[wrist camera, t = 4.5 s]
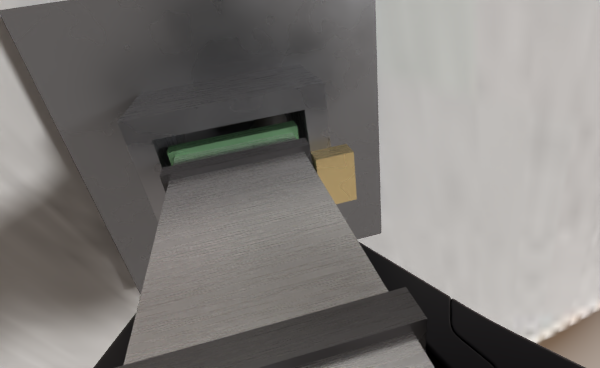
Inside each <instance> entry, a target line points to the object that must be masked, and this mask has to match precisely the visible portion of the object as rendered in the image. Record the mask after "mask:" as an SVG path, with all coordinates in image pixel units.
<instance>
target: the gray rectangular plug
mask: <svg viewBox="0 0 600 368" xmlns="http://www.w3.org/2000/svg"><path fill="white" fill-rule="evenodd" d="M167 154H168V157H169V160H170V163H171V166H168V167H163V168H162V170H161V173H160V176H159V177H160V179H161V182H162V184H163V187H164V190H165V192H166V195H165V199H164V203H163V207H162V211H161V215H160V219H159V223H158V227H157V231H156V235H155V239H154V244H153V248H152V252H151V256H150V260H149V264H148V268H147V272H146V276H145V280H144V284H143V288H142V292H141V296H140V300H139V304H138V308H137V312H136V316H135V320H134V324H133V329H132V333H131V337H130V341H129V345H128V349H127V353H126V357H125V361H124V365H122V366H119V367H115V368H434V366H433V364H432V363H431V361H430V359H429V358H428V356H427V354H426V353H425V347H426V331H427V317H426V316H425V314H424V313H423V311H422V310H421V308H420V307H419V305H418V304H417V302H416V301H415V300H414V298H413V297H412V295H411V294H410V292H409V291H408V289H407V288H406V287H404V288H400V289H396V290H393V291H389V292H388V290H387V288H386V287H385V285H384V283H383V282H382V280H381V278H380V277H379V275H378V273H377V272H376V270H375V268H374V267H373V265H372V263H371V262H370V260H369V258H368V257H367V255H366V254H365V252H364V250H363V249H362V247H361V245H360V244H359V242H358V240H357V239H356V237H355V235H354V234H353V232H352V230H351V229H350V227H349V225H348V224H347V222H346V220H345V219H344V217H343V215H342V214H341V212H340V210H339V209H338V207H337V206H336V204H335V202H334V201H333V199H332V197H331V196H330V194H329V192H328V191H327V189H326V187H325V186H324V184H323V182H322V181H321V179H320V177H319V176H318V174H317V172H316V171H315V169H314V167H313V166H312V158H311V151H310V144H309V143H308V141H307V140H306V138H301V139H299V135H298V129H297V125H296V123H295V122H294V121H289V122H284V123H279V124H274V125H270V126H265V127H260V128H255V129H250V130H245V131H240V132H235V133H230V134H225V135H220V136H216V137H211V138H206V139H201V140H196V141H191V142H186V143H181V144H176V145H171V146H169V147H168V150H167Z"/></svg>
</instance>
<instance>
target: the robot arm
mask: <svg viewBox="0 0 600 368" xmlns="http://www.w3.org/2000/svg"><path fill="white" fill-rule="evenodd" d="M359 244H360V245H361V247H362V249H363V250H364V252H365V254H366V255H367V257H368V258H369V260H370V262H371V263H372V265H373V267H374V268H375V270H376V272H377V273H378V275H379V277H380V278H381V280H382V282H383V283H384V285H385V287H386V288H387V290H388V292H389V291H393V290H396V289H400V288H404V287H406V288H407V289H408V291H409V292H410V294H411V295H412V297H413V298H414V300H415V301H416V302H417V304H418V305H419V307H420V308H421V310H422V311H423V313H424V314H425V316H426V317H427V331H426V347H425V353H426V354H427V356H428V358H429V359H430V361H431V363H432V364H433V366H434V368H585V367H583V366H581V365H579V364H577V363H574V362H573V361H571V360H569V359H567V358H565V357H563V356H561V355H559V354H557V353H555V352H552V351H550V350H549V349H546V348H544V347H542V346H540V345H538V344H536V343H534V342H532V341H530V340H528V339H526V338H524V337H522V336H520V335H518V334H516V333H514V332H512V331H510V330H508V329H506V328H504V327H503V326H501V325H499V324H497V323H495V322H493V321H491V320H489V319H487V318H486V317H484V316H482V315H480V314H479V313H477V312H475V311H473V310H472V309H470V308H468V307H466V306H465V305H463V304H461V303H460V302H458V301H456V300H455V299H451V298H450V297H449V296H448V295H446V294H445V293H443V292H441V291H440V290H438V289H436V288H435V287H433V286H431V285H430V284H428V283H426V282H425V281H423V280H421V279H420V278H418V277H416V276H415V275H413V274H411V273H410V272H408V271H406V270H405V269H403V268H401V267H400V266H398V265H396V264H395V263H393V262H392V261H390V260H388V259H387V258H385V257H383V256H382V255H380V254H378V253H377V252H375V251H373V250H372V249H370V248H368V247H367V246H365V245H363V244H362V243H360V242H359ZM135 316H136V314H135V315H134V316H133V317H132V319H131V320H130V321H129V323H128V324H127V325H126V327H125V328H124V329H123V330H122V332H121V333H120V334H119V336H118V337H117V338H116V339H115V341H114V342H113V343H112V345H111V346H110V347H109V348H108V350H107V351H106V352H105V354H104V355H103V356H102V357H101V359H100V360H99V361H98V363H97V364H96V365H95V367H94V368H115V367H119V366H122V365H124V361H125V357H126V353H127V349H128V345H129V341H130V337H131V333H132V329H133V324H134V320H135Z"/></svg>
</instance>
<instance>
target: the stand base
mask: <svg viewBox="0 0 600 368" xmlns="http://www.w3.org/2000/svg"><path fill="white" fill-rule="evenodd" d="M0 15H1V17H2V19H3V21H4V23H5V25H6V27H7V29H8V31H9V33H10V35H11V37H12V39H13V41H14V43H15V45H16V47H17V49H18V51H19V53H20V55H21V57H22V59H23V61H24V63H25V65H26V67H27V69H28V71H29V73H30V75H31V77H32V79H33V81H34V83H35V85H36V87H37V89H38V91H39V93H40V95H41V97H42V99H43V101H44V103H45V105H46V107H47V109H48V111H49V113H50V115H51V117H52V119H53V121H54V123H55V125H56V127H57V129H58V131H59V133H60V135H61V137H62V139H63V141H64V143H65V145H66V147H67V149H68V151H69V153H70V155H71V157H72V159H73V161H74V163H75V165H76V167H77V169H78V171H79V173H80V175H81V177H82V179H83V181H84V183H85V185H86V187H87V189H88V191H89V193H90V195H91V197H92V199H93V201H94V203H95V205H96V207H97V209H98V211H99V213H100V215H101V217H102V219H103V221H104V223H105V225H106V227H107V229H108V231H109V233H110V235H111V236H112V238H113V240H114V242H115V244H116V246H117V248H118V250H119V252H120V254H121V256H122V258H123V260H124V262H125V264H126V266H127V268H128V270H129V272H130V274H131V276H132V278H133V280H134V282H135V284H136V286H137V288H138V290H139V292H140V294H141V292H142V288H143V284H144V280H145V276H146V272H147V268H148V264H149V260H150V256H151V252H152V248H153V244H154V239H155V235H156V231H157V227H158V223H159V219H160V215H161V211H162V207H163V203H164V199H165V195H166V192H165V190H164V187H163V184H162V182H161V179H160V177H159V176H160V173H161V170H162V168H163V167H168V166H171V163H170V160H169V157H168V154H167V150H168V147H169V146H171V145H176V144H181V143H186V142H191V141H196V140H201V139H206V138H211V137H216V136H220V135H225V134H230V133H235V132H240V131H245V130H250V129H255V128H260V127H265V126H270V125H274V124H279V123H284V122H289V121H294V122H295V123H296V125H297V129H298V135H299V139H301V138H306V140H307V141H308V143H309V144H310V151H311V158H312V166H313V167H314V169H315V171H316V172H317V174H318V176H319V177H320V179H321V181H322V182H323V184H324V186H325V187H326V189H327V191H328V192H329V194H330V196H331V197H332V199H333V201H334V202H335V204H336V206H337V207H338V209H339V210H340V212H341V214H342V215H343V217H344V219H345V220H346V222H347V224H348V225H349V227H350V229H351V230H352V232H353V234H354V235H355V237H356V239H360V238H364V237H368V236H372V235H376V234H380V233H381V203H380V165H379V126H378V88H377V49H376V11H375V0H67V1H60V2H53V3H47V4H40V5H33V6H26V7H19V8H13V9H6V10H0Z"/></svg>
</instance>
